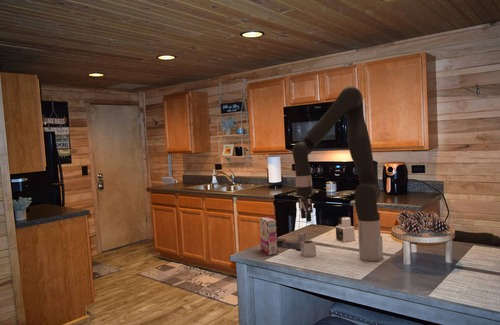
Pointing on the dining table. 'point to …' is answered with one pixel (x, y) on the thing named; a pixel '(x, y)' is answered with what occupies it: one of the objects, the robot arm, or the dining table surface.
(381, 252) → the robot arm
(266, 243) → the candy bar box
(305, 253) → the socket
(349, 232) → the medicine bottle
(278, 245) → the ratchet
